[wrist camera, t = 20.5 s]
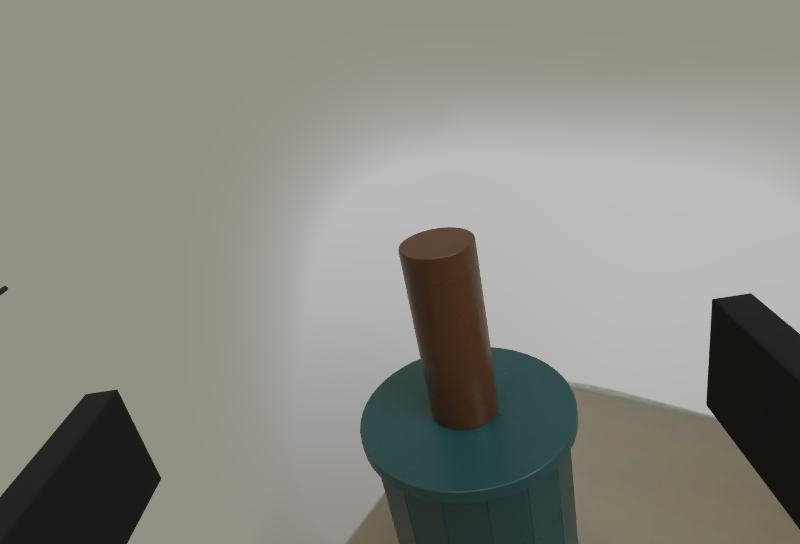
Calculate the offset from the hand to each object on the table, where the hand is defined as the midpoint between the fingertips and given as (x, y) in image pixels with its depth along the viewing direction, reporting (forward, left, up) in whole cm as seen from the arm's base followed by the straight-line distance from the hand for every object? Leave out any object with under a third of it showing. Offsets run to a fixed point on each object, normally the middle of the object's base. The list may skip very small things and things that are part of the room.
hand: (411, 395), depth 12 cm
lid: (-8, +3, -8) cm, 12 cm away
